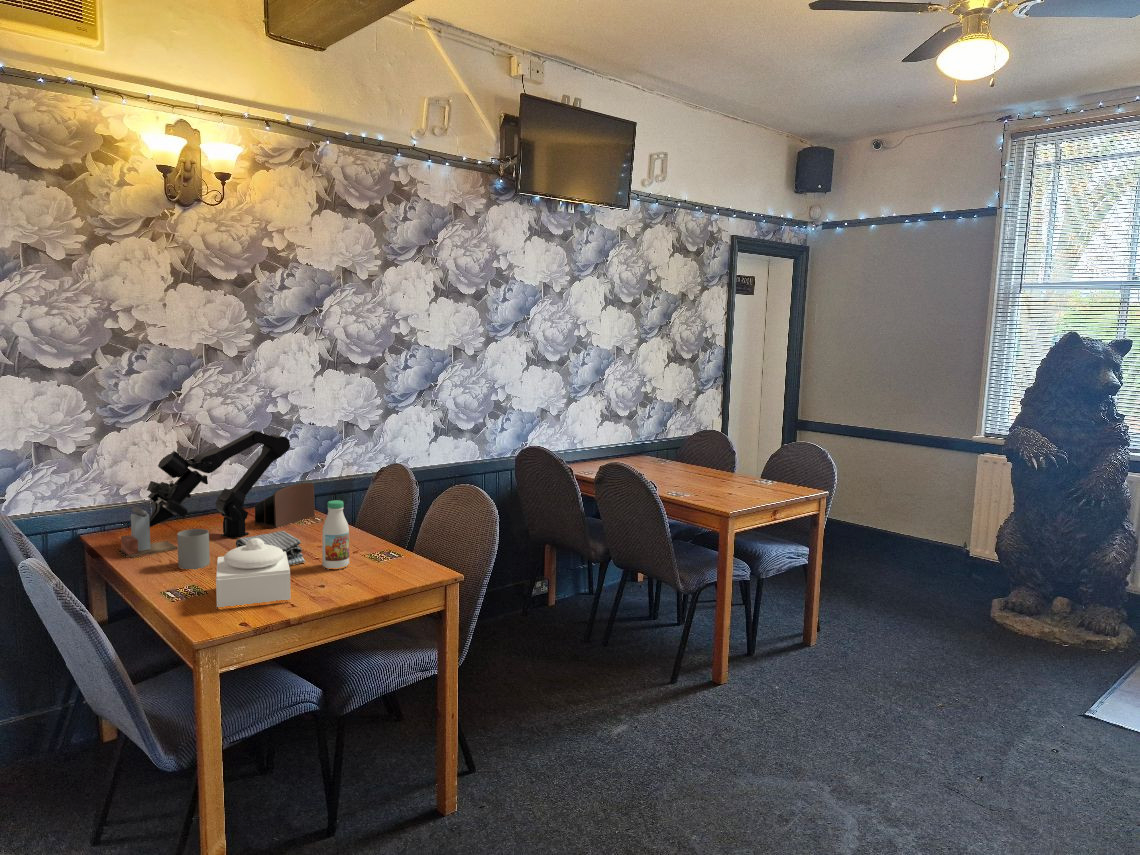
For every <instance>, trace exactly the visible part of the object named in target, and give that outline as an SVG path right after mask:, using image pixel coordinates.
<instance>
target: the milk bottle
mask: <svg viewBox="0 0 1140 855" xmlns="http://www.w3.org/2000/svg"><path fill="white" fill-rule="evenodd" d="M326 504H327V510H328V511H327V515H326V518H325V521H324V523H323V526H322V540H321V543H322V545H321V546H322V547H321V548H322V549H321V550H322V551H321V553H322V555H321V558H322V559H321V560H322V567H323V566H324V567H326V568H340V567H344V566H347V565H348V564H349V565H350V530H349V528H350V527H349V523H348V521H347V519H346V517H345V514H344V509H345V508H344V506H345V505H344V501H343V500H336V499H335V500H329V501H327V503H326ZM324 567H323V568H324Z"/></svg>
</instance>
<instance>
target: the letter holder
mask: <svg viewBox="0 0 1140 855" xmlns="http://www.w3.org/2000/svg"><path fill="white" fill-rule="evenodd" d="M315 506H316V505H315V485H314V484H313V483H312V482H303V483H301V482H300V483H295V484H292V485H288V486H286V487H285V486H284V487H283V488H280V489H278V490H275V491H274V493H273V494H272V495H270V496H268V497H266V498H265V499H263V500H260V501H258V502H257V503H256V504H255V506H254V525H255V526H257V525H259V526H258V527H263V526H264V528H268V527H271V528H270V529H274V528H276V529H279V528H278V527H280V528H282V527H281V526H283V527H285V526H284V525H286V526H288V525H287V524H289V525H291V524H290V523H293V524H295V523H294V522H296V523H298V522H297V521H300V520H303V519H306V518H309V517H313V516H315V515H316V514H315V513H316V512H315ZM315 517H316V516H315ZM313 518H314V517H313ZM309 519H310V518H309ZM306 520H307V519H306ZM303 521H304V520H303ZM300 522H301V521H300Z"/></svg>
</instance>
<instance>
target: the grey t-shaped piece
mask: <svg viewBox="0 0 1140 855" xmlns="http://www.w3.org/2000/svg"><path fill="white" fill-rule="evenodd" d="M131 511H132V512H134V513H131V514H130V530H131V531H130V532H131V534H130V535H131V536H133V537H134V538H136V539H137V540H138V551H143V550H149V549H151V548H150V544H151V531H150V530H151V527H150V522H149V519H150V514H149V513H148V512H147V511H146V510H144V509H142V508H140V507H138V506H136V505H135V506H133V507H132V509H131Z"/></svg>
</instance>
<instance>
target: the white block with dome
mask: <svg viewBox="0 0 1140 855" xmlns="http://www.w3.org/2000/svg"><path fill="white" fill-rule="evenodd" d="M216 560H217V561H216V575H215V584H216V585H215V586H216V587H215V588H216V590H215V591H216V608H217V607H225V606H235V605H244V604H253V603H262V602H270V601H276V600H278V601H279V600H289V599H291V597H292V596H291V568H290V566H289V563H288V559H287V555H286V551H284V552H283V550H281V549H280V548H278V547H276V546H272V545H266V544H264V542H263V541H262V540H261V539H259V538H252V539H250V540H249V541H248V542H247V543H246V545H245V546H241V547H237V546H236V547H235V548H232V549H231V550H229V551H227V552H226V554H224V556H218V557H217V559H216Z"/></svg>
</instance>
